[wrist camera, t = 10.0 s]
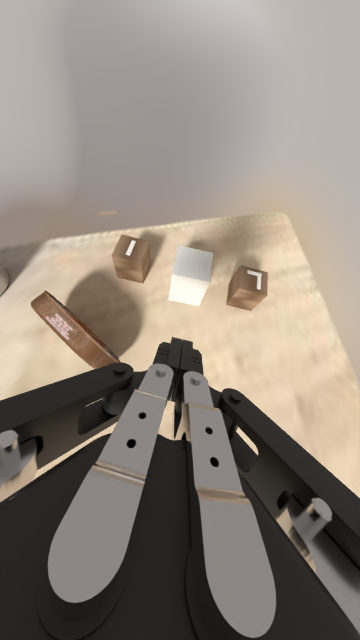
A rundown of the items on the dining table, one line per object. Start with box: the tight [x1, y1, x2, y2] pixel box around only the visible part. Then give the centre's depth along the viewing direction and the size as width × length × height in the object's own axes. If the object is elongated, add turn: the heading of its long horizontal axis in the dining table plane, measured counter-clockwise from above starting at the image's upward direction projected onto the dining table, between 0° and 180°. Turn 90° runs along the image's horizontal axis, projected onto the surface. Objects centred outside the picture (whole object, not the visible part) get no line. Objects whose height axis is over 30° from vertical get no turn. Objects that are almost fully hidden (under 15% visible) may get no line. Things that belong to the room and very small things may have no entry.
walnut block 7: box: [226, 266, 268, 311], centre depth 35 cm, size 5×5×6 cm
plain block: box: [168, 245, 213, 306], centre depth 33 cm, size 6×6×8 cm
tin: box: [31, 291, 120, 369], centre depth 26 cm, size 15×3×8 cm, turn 48°
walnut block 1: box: [112, 235, 150, 283], centre depth 34 cm, size 5×5×6 cm
